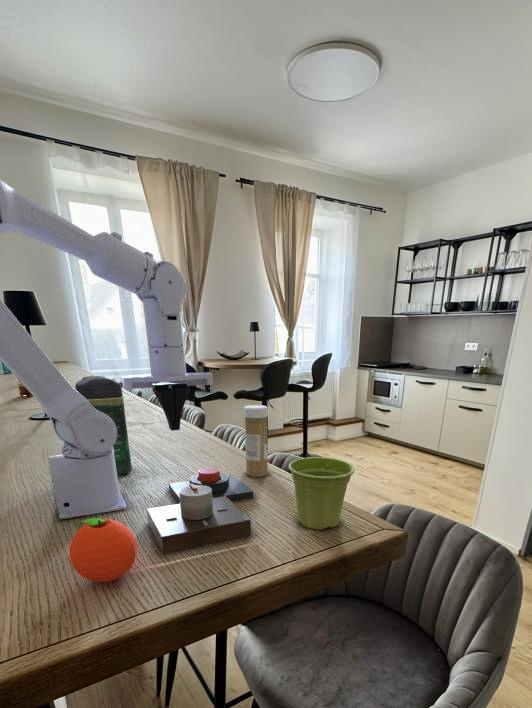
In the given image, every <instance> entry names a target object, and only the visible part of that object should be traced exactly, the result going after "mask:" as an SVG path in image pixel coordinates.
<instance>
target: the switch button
mask: <svg viewBox="0 0 532 708" xmlns="http://www.w3.org/2000/svg"><path fill="white" fill-rule="evenodd" d="M220 473H221V471H220V469H219V468H217V467H202V468H200V469H198V473H197V474H199V481H201V482H215V481H218V480H220Z"/></svg>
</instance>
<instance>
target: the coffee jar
mask: <svg viewBox="0 0 532 708" xmlns="http://www.w3.org/2000/svg"><path fill="white" fill-rule="evenodd" d="M74 389H75V390H76V391H78V392H79V393H80V394H81V395H82V396H83V397H85V398H86V399H87V400H88V401H89V402H90V403H91V405H92V406H93V407H94V408H95V409H96V410H98V411H100V412H102V413H104V414H106V415H108V416H109V417H110V418H111V419H112V420H113V421H114V423H115V425H116V428H117V439H116V442H115V444H114V445H113V450H114V457H115V464H116V471H117V477H120V476H122V475H125V474H130V473H131V472H132V469H133V467H132V459H131V451H130V442H129V435H128V426H127V417H126V410H125V401H124V394H123V388H122V384H121V383H120V382H118V381H115V380H113V379H111V378H107V377H105V376H103V375H102V376H101V375H90V376H83V377H82V378H81V379H80V380H78V381H76V382H75V386H74Z"/></svg>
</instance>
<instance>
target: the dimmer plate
mask: <svg viewBox="0 0 532 708" xmlns="http://www.w3.org/2000/svg"><path fill="white" fill-rule="evenodd" d="M212 500H213V514H212V516H210V517H208V518H206V519H201V520H188V519H185V518H183V517H182V516H181V507H180V504H179V503H174V504H170V505H162V506H157V507H156V506H155V507H151V508H146V513H147V514H146V515H147V523H148V526H149V528H150V530H151V532H152V535H153V536H154V538H155V540H156V543H157V544H158V546H159V548H160V550H161V552H162V554H163V555H168V554H173V553H178V552H181V551H186V550H191V549H195V548H199V547H200V548H201V547H205V546H209V545H215V544H219V543H223V542H227V541H233V540H238V539H242V538H246V537H251V536H252V520H251V518H250V517H248V515H247V514H245V512H243V511H242V510H241V509H240V508H239V507H238V506H237V505H236V504H235V503H234V502H231V501H230V500H229V499H228V498H227V497H226V496H223V497H217V498H212Z"/></svg>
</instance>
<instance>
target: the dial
mask: <svg viewBox="0 0 532 708" xmlns="http://www.w3.org/2000/svg"><path fill="white" fill-rule="evenodd" d="M179 495H180V507H181V516H182V517H183V518H185V519H188V520H201V519H206V518H208V517H210V516H212V514H213V500H212V489H211V488H210V487H208V486H203V485H194V484H193V483H192V484H189V486H187V487H184V488H182V489H181V490H180V491H179Z"/></svg>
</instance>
